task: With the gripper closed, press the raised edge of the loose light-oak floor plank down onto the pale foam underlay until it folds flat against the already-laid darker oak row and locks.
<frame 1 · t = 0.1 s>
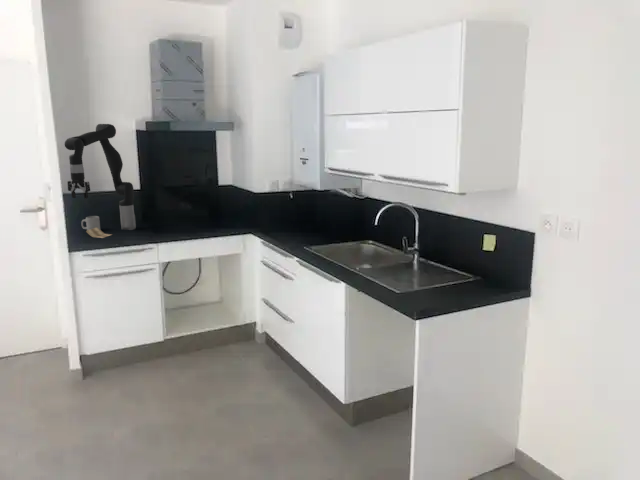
hand: (80, 198, 321), 29 cm above the worktop, fingers open, 8 cm apart
mug: (91, 233, 358), on the worktop
plank: (95, 232, 345), point 3 cm above the worktop, hinge at 35.0°
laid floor: (99, 237, 345), on the worktop
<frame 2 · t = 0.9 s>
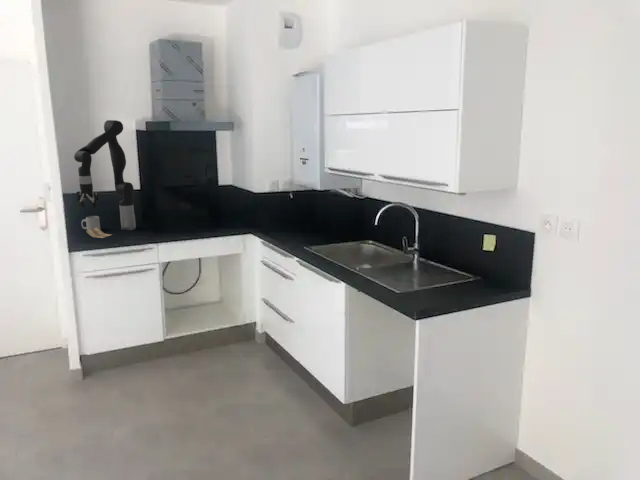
hand: (88, 207, 339), 20 cm above the worktop, fingers open, 8 cm apart
nothing on the worktop moved.
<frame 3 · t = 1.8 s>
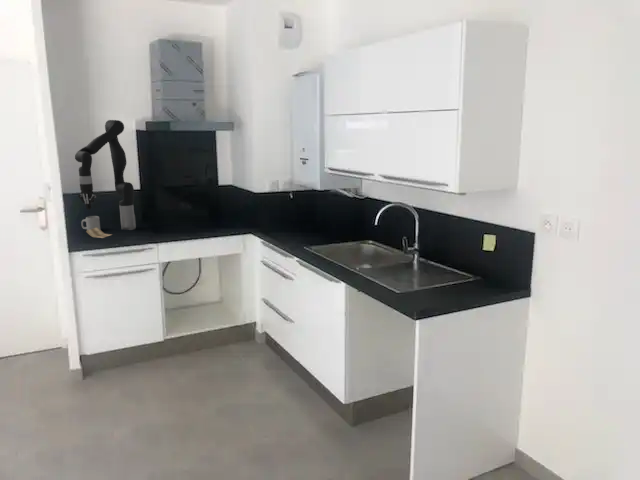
hand: (88, 209, 340), 19 cm above the worktop, fingers closed
nothing on the worktop moved.
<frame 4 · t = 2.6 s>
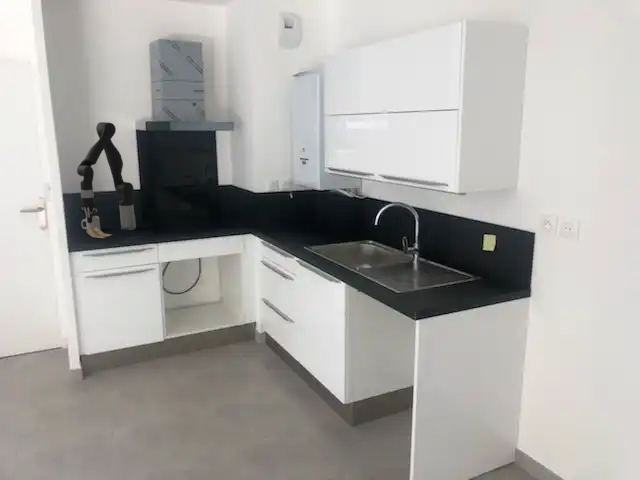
hand: (89, 222, 342), 10 cm above the worktop, fingers closed
nothing on the worktop moved.
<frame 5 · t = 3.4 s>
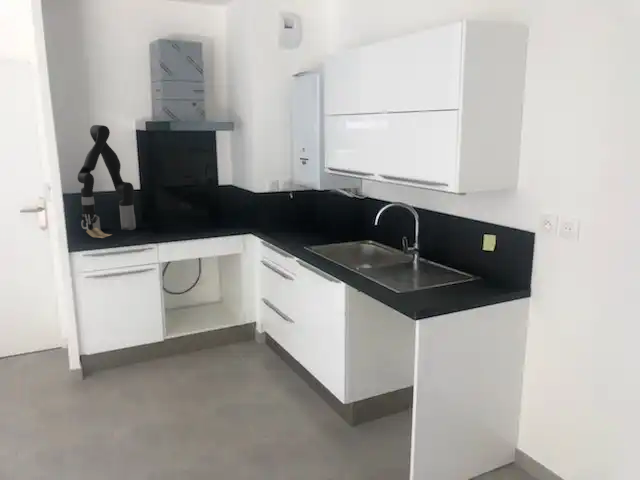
hand: (90, 229, 343), 5 cm above the worktop, fingers closed
plank: (95, 232, 345), point 3 cm above the worktop, hinge at 34.9°, touching gripper
everything else where it was.
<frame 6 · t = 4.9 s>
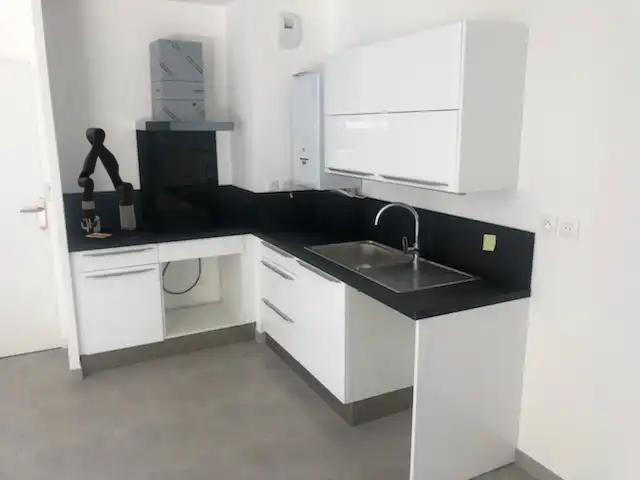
hand: (91, 233, 344), 3 cm above the worktop, fingers closed
plank: (95, 235, 346), point 1 cm above the worktop, hinge at 2.5°
everything else where it was.
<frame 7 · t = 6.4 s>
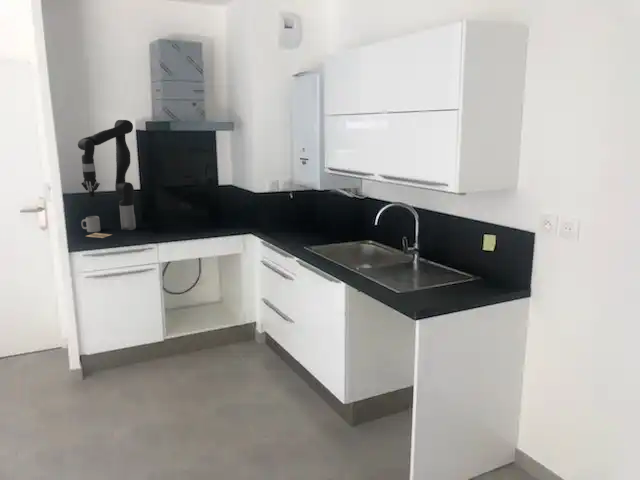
hand: (92, 196, 343), 26 cm above the worktop, fingers closed
nothing on the worktop moved.
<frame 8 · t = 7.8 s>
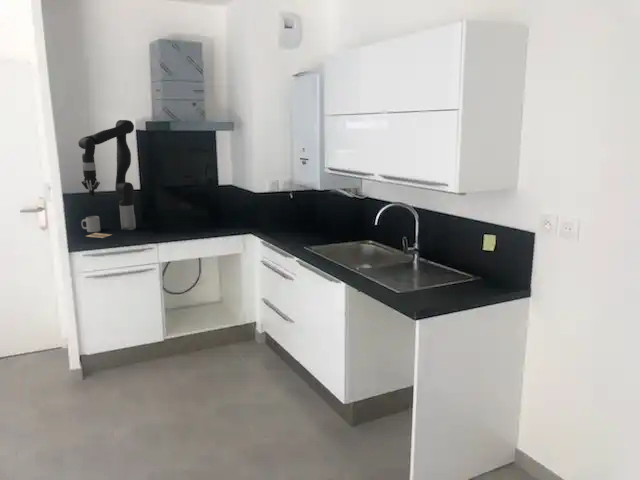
hand: (92, 195, 343), 27 cm above the worktop, fingers closed
nothing on the worktop moved.
at the end: plank at +2° (first picture: +35°) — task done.
